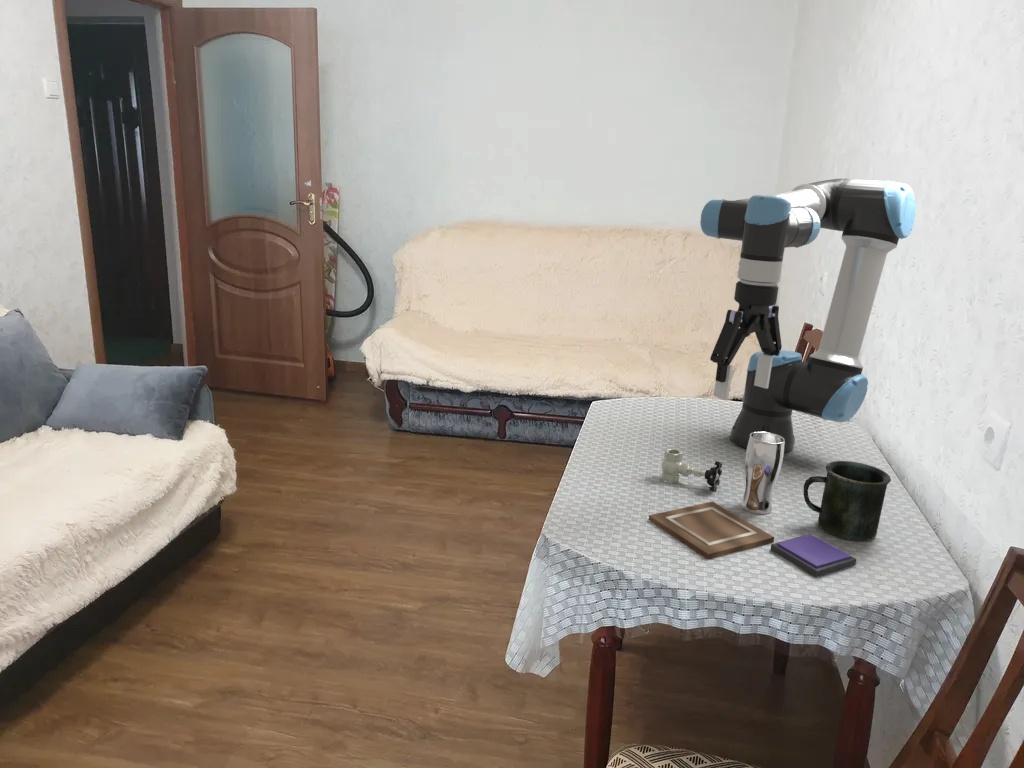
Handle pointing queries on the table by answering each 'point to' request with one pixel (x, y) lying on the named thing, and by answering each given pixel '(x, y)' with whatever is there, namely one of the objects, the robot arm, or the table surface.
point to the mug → (850, 499)
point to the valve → (687, 469)
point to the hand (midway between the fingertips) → (741, 392)
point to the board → (711, 529)
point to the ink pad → (813, 555)
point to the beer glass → (762, 471)
